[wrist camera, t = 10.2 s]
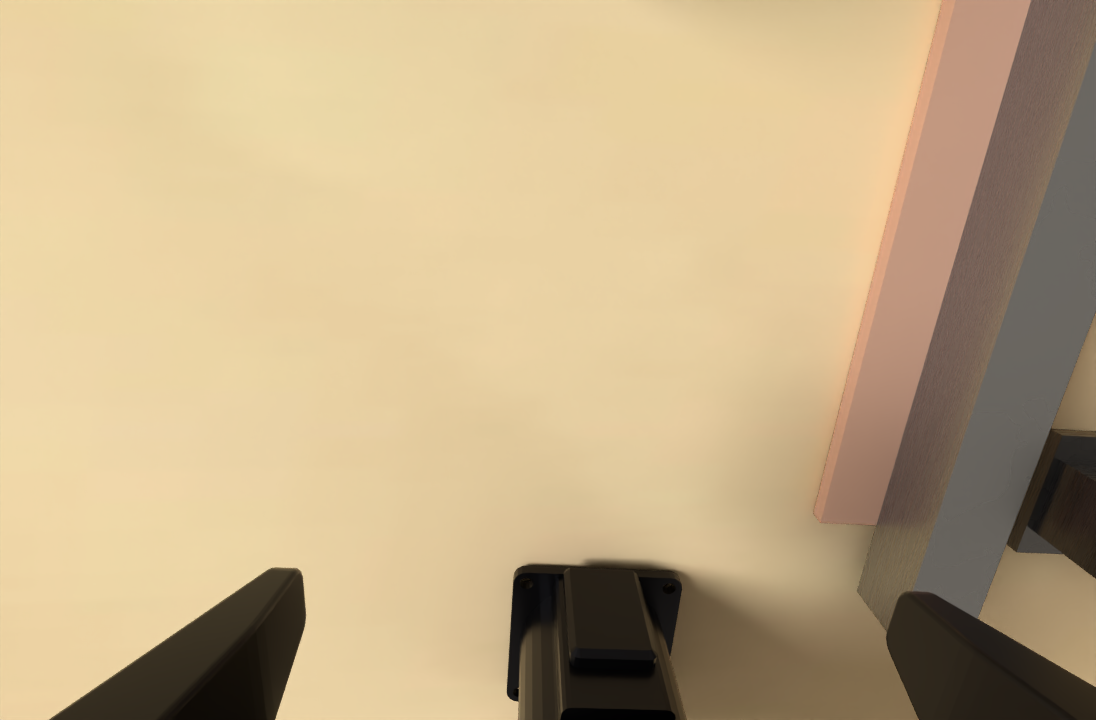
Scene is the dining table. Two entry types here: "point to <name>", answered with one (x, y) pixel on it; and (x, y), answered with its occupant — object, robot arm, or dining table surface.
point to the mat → (918, 249)
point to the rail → (1000, 328)
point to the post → (1061, 501)
